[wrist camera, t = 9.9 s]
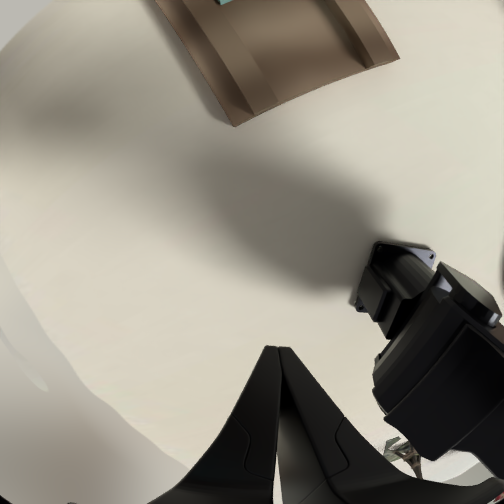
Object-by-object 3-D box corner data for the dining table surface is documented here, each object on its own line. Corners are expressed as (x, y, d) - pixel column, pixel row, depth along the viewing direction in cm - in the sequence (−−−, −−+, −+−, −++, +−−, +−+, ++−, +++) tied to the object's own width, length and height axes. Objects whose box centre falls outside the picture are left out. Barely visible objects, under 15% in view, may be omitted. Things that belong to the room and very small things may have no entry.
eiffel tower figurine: (384, 438, 35) (403, 502, 23) (437, 417, 34) (461, 475, 22) (379, 465, 41) (391, 515, 29) (422, 448, 40) (439, 496, 28)
